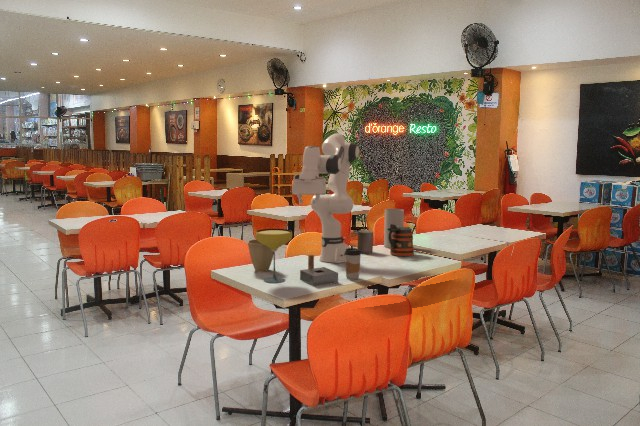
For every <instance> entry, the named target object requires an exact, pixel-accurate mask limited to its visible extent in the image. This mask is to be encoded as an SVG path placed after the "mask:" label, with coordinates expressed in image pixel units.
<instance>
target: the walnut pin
mask: <svg viewBox="0 0 640 426" xmlns="http://www.w3.org/2000/svg"><path fill="white" fill-rule="evenodd" d="M313 268H315V255H314V254H308V255H307V269H313Z"/></svg>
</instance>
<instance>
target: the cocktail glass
mask: <svg viewBox="0 0 640 426" xmlns="http://www.w3.org/2000/svg"><path fill="white" fill-rule="evenodd" d="M292 238H293V231H292V230H291V229H288V228H287V229H285V228H264V229H259V230H257V231H256V232H255V239H257V240H258V241H259V242H260V243H262V244H264V245H266V246H268V247H269V248H270V249H271V250H272V251H273V252H274V254H273V275H272V277H266V278H264V279H263V282H264V283H267V284H279V283H284V282H285V281H286V278H284V277H280V276H279V277H278V276H276V257H275V256H276V251H278V249H279V248H280V247H283V246H284V245H286V244H288V243H289V242H290V241H291V240H292Z"/></svg>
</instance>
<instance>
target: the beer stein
mask: <svg viewBox="0 0 640 426" xmlns="http://www.w3.org/2000/svg"><path fill="white" fill-rule="evenodd" d="M388 230H389V231H390V232H389V242H390V244H391V247H390V248H389V249H390V251H389V252H390V253H389V254H390V255H392V256H397V257H412V256H414V255H415V249H414V242H413V241H414V235H413V230H412V228H411V227H410V226H403V227H396V225H393V224H391V225H390V228H388ZM392 232H393V233H392ZM391 234H392V238H391Z"/></svg>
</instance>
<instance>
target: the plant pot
mask: <svg viewBox="0 0 640 426" xmlns="http://www.w3.org/2000/svg"><path fill="white" fill-rule="evenodd" d="M247 246H248V251H249V252H248V253H249V256H250V260H251V262H252V265H253V269H254V271H255V272H258V273H259V272H260V273H261V272H263V273H264V272H268V271H269V270H270V267H271V264H272V261H273V259H274V252H273V251H272V250H271V249H270V248H269V247H268V246H266V245H264V244H262V243H260V242H259V241H258V240H257V239H256V238H254V239H251V240H247Z"/></svg>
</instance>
